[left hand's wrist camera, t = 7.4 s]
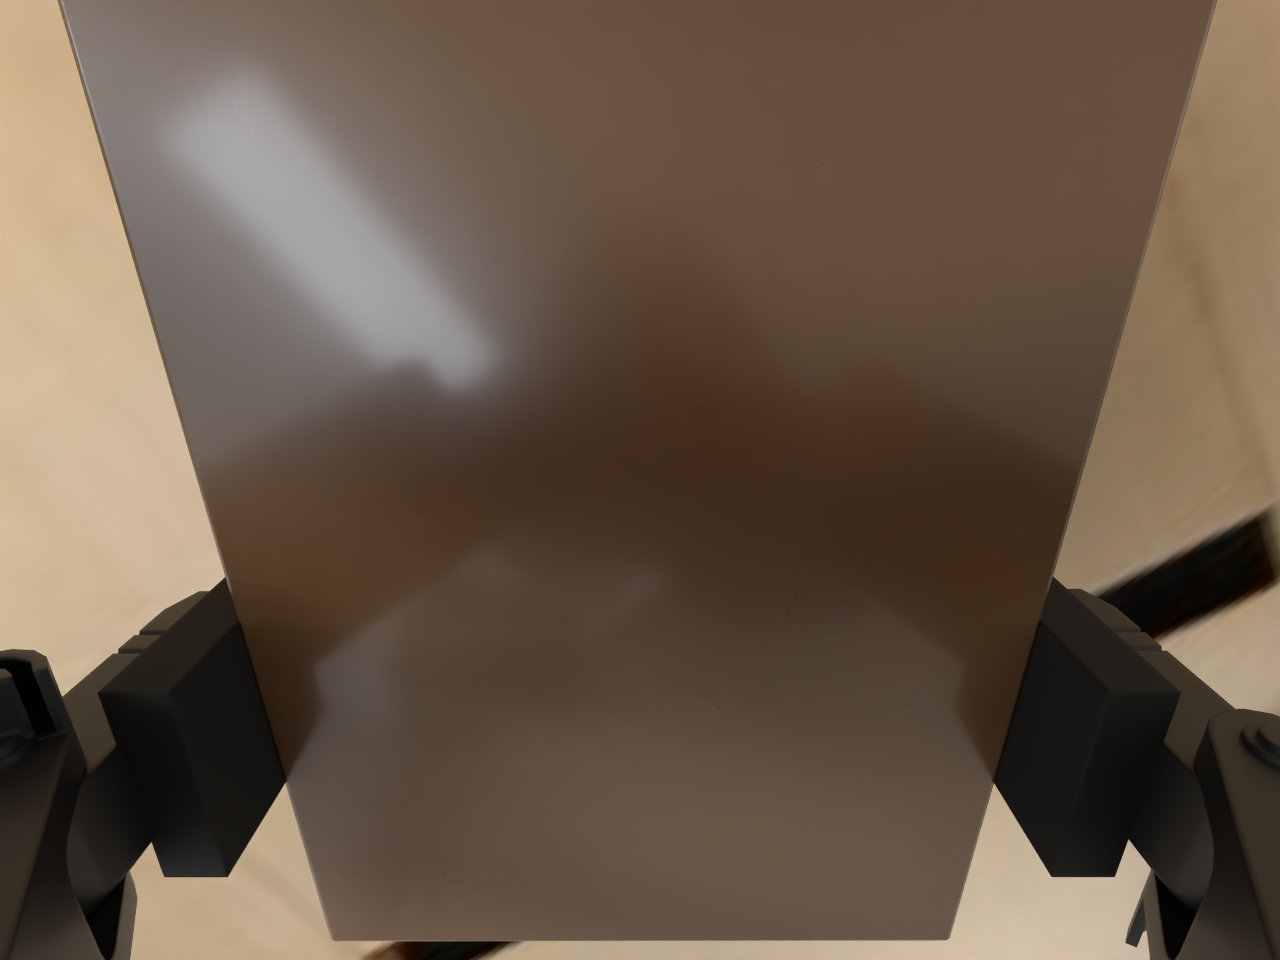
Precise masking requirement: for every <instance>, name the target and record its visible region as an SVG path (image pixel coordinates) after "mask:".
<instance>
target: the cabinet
mask: <svg viewBox="0 0 1280 960" xmlns="http://www.w3.org/2000/svg"><path fill="white" fill-rule="evenodd" d="M58 3H59V7H60V10H61V14H62V17H63V20H64V24H65V27H66V31H67V34H68V38H69V41H70V44H71V48H72V51H73V55H74V58H75V62H76V65H77V68H78V72H79V75H80V79H81V82H82V86H83V89H84V92H85V96H86V99H87V103H88V106H89V110H90V113H91V116H92V120H93V123H94V127H95V130H96V134H97V137H98V141H99V144H100V147H101V151H102V154H103V158H104V161H105V165H106V168H107V171H108V175H109V178H110V182H111V185H112V189H113V192H114V195H115V199H116V202H117V206H118V209H119V213H120V216H121V219H122V223H123V226H124V230H125V233H126V237H127V240H128V243H129V247H130V250H131V254H132V257H133V261H134V264H135V267H136V271H137V274H138V278H139V281H140V285H141V288H142V291H143V295H144V298H145V302H146V305H147V309H148V312H149V315H150V319H151V322H152V326H153V329H154V333H155V336H156V340H157V343H158V346H159V350H160V353H161V357H162V360H163V364H164V367H165V370H166V374H167V377H168V381H169V384H170V388H171V391H172V394H173V398H174V401H175V405H176V408H177V412H178V415H179V418H180V422H181V425H182V429H183V432H184V436H185V439H186V442H187V446H188V449H189V453H190V456H191V460H192V463H193V466H194V470H195V473H196V477H197V480H198V484H199V487H200V490H201V494H202V497H203V501H204V504H205V508H206V511H207V515H208V518H209V521H210V525H211V528H212V532H213V535H214V539H215V542H216V545H217V549H218V552H219V556H220V559H221V563H222V566H223V569H224V573H225V576H226V580H227V583H228V587H229V590H230V593H231V597H232V600H233V604H234V607H235V611H236V614H237V617H238V621H239V624H240V628H241V631H242V635H243V638H244V641H245V645H246V648H247V652H248V655H249V659H250V662H251V665H252V669H253V672H254V676H255V679H256V683H257V686H258V689H259V693H260V696H261V700H262V703H263V707H264V710H265V714H266V717H267V720H268V724H269V727H270V731H271V734H272V738H273V741H274V744H275V748H276V751H277V755H278V758H279V762H280V765H281V768H282V772H283V775H284V779H285V782H286V786H287V789H288V792H289V796H290V799H291V803H292V806H293V810H294V813H295V816H296V820H297V823H298V827H299V830H300V834H301V837H302V840H303V844H304V847H305V851H306V854H307V858H308V861H309V864H310V868H311V871H312V875H313V878H314V882H315V885H316V888H317V892H318V895H319V899H320V902H321V906H322V909H323V913H324V916H325V919H326V923H327V926H328V930H329V933H330V937H331V939H332V940H334V941H923V940H948V939H949V938H950V935H951V931H952V928H953V924H954V921H955V917H956V914H957V910H958V907H959V903H960V900H961V896H962V893H963V889H964V886H965V882H966V879H967V875H968V872H969V868H970V865H971V861H972V857H973V854H974V850H975V847H976V843H977V840H978V836H979V833H980V829H981V826H982V822H983V819H984V815H985V812H986V808H987V805H988V801H989V798H990V794H991V791H992V787H993V784H994V780H995V777H996V773H997V770H998V766H999V763H1000V759H1001V756H1002V752H1003V749H1004V745H1005V742H1006V738H1007V735H1008V731H1009V728H1010V724H1011V721H1012V717H1013V714H1014V710H1015V707H1016V703H1017V700H1018V696H1019V693H1020V689H1021V686H1022V682H1023V679H1024V675H1025V672H1026V668H1027V665H1028V661H1029V658H1030V654H1031V651H1032V647H1033V644H1034V640H1035V637H1036V633H1037V630H1038V626H1039V623H1040V619H1041V616H1042V612H1043V609H1044V605H1045V602H1046V598H1047V595H1048V591H1049V588H1050V584H1051V581H1052V577H1053V574H1054V570H1055V567H1056V563H1057V560H1058V556H1059V553H1060V549H1061V546H1062V542H1063V539H1064V535H1065V532H1066V528H1067V525H1068V521H1069V518H1070V514H1071V511H1072V507H1073V504H1074V500H1075V497H1076V493H1077V490H1078V486H1079V483H1080V479H1081V476H1082V472H1083V469H1084V465H1085V462H1086V458H1087V455H1088V451H1089V448H1090V444H1091V441H1092V437H1093V434H1094V430H1095V427H1096V423H1097V420H1098V416H1099V413H1100V409H1101V406H1102V402H1103V399H1104V395H1105V392H1106V388H1107V385H1108V381H1109V377H1110V374H1111V370H1112V367H1113V363H1114V360H1115V356H1116V353H1117V349H1118V346H1119V342H1120V339H1121V335H1122V332H1123V328H1124V325H1125V321H1126V318H1127V314H1128V311H1129V307H1130V304H1131V300H1132V297H1133V293H1134V290H1135V286H1136V283H1137V279H1138V276H1139V272H1140V269H1141V265H1142V262H1143V258H1144V255H1145V251H1146V248H1147V244H1148V241H1149V237H1150V234H1151V230H1152V227H1153V223H1154V220H1155V216H1156V213H1157V209H1158V206H1159V202H1160V199H1161V195H1162V192H1163V188H1164V185H1165V181H1166V178H1167V174H1168V171H1169V167H1170V164H1171V160H1172V157H1173V153H1174V150H1175V146H1176V143H1177V139H1178V136H1179V132H1180V129H1181V125H1182V122H1183V118H1184V115H1185V111H1186V108H1187V104H1188V101H1189V97H1190V94H1191V90H1192V87H1193V83H1194V80H1195V76H1196V73H1197V69H1198V66H1199V62H1200V59H1201V55H1202V52H1203V48H1204V45H1205V41H1206V38H1207V34H1208V31H1209V27H1210V24H1211V20H1212V17H1213V13H1214V10H1215V6H1216V3H1217V0H58Z"/></svg>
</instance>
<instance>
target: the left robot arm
mask: <svg viewBox="0 0 1280 960" xmlns="http://www.w3.org/2000/svg"><path fill="white" fill-rule="evenodd" d="M118 650H119V651H118V654H112V655H111V656H110V657H109V658H107V659H106V660H105V661H104V662H103V663H101V664H100V665H99V666H98V667H97V668H96V669H94V670H93V671H92V672H91V673H90V674H89V675H87V676H86V677H85V678H84V679H83V680H82V681H80V682H79V683H78V684H77V685H76V686H75V687H73V688H72V689H71V690H70V691H69V692H68V693H66V694H65V695H64V696H63V697H62V696H61V693H60V691H59V688H58V685H57V683H56V680H55V678H54V675H53V672H52V670H51V667H50V665H49V662H48V660H47V657H46V656H44V655H42V654H40V653H38V652H36V651H34V650H16V649H11V650H4V651H0V960H130V955H131V947H132V939H133V930H134V922H135V914H136V905H137V894H136V889H135V884H134V881H133V879H132V876H131V874H130V871H129V870H130V869H131V868H132V866H133V865H134V864H135V863H136V861H137V860H138V859H139V857H140V856H141V855H142V853H143V852H144V851H145V849H146V848H147V847H148V846H149V844H150V843H151V842H152V844H153V847H154V850H155V853H156V855H157V858H158V861H159V864H160V866H161V869H162V872H163V875H164V877H228V876H229V874H230V872H231V871H232V869H233V867H234V866H235V864H236V862H237V861H238V859H239V858H240V856H241V854H242V853H243V851H244V849H245V848H246V846H247V844H248V843H249V841H250V840H251V838H252V836H253V835H254V833H255V831H256V830H257V828H258V826H259V825H260V823H261V822H262V820H263V818H264V817H265V815H266V813H267V812H268V810H269V809H270V807H271V805H272V804H273V802H274V800H275V799H276V797H277V795H278V794H279V792H280V791H281V789H282V787H283V786H284V784H285V779H284V775H283V772H282V768H281V765H280V762H279V758H278V755H277V751H276V748H275V744H274V741H273V738H272V734H271V731H270V727H269V724H268V720H267V717H266V714H265V710H264V707H263V703H262V700H261V696H260V693H259V689H258V686H257V683H256V679H255V676H254V672H253V669H252V665H251V662H250V659H249V655H248V652H247V648H246V645H245V641H244V638H243V635H242V631H241V628H240V624H239V621H238V617H237V614H236V611H235V607H234V604H233V600H232V597H231V593H230V590H229V587H228V583H227V580H226V577H225V578H224V579H223V580H222V581H221V582H219V583H218V584H217V585H216V586H215V587H214V588H213V589H212V590H211V591H199V592H197V593H195V594H193V595H191V596H189V597H188V598H186V599H184V600H182V601H180V602H178V603H176V604H174V605H172V606H170V607H169V608H167V609H165V610H164V611H162V612H161V613H160V614H159V615H158V616H156V617H155V618H154V619H153V620H152V621H151V622H149V623H148V624H147V625H146V626H145V627H144V628H142V629H141V630H140V633H139V635H134V636H133V637H132V638H131V639H130V640H128V641H127V642H126V643H125V644H124V645H123V646H121V647H120V648H119V649H118ZM994 784H995V785H996V787H997V788H998V790H999V792H1000V793H1001V795H1002V797H1003V798H1004V800H1005V802H1006V803H1007V805H1008V806H1009V808H1010V810H1011V811H1012V813H1013V815H1014V816H1015V818H1016V820H1017V821H1018V823H1019V824H1020V826H1021V828H1022V829H1023V831H1024V833H1025V834H1026V836H1027V838H1028V839H1029V841H1030V842H1031V844H1032V846H1033V847H1034V849H1035V851H1036V852H1037V854H1038V856H1039V857H1040V859H1041V860H1042V862H1043V864H1044V865H1045V867H1046V869H1047V870H1048V872H1049V874H1050V875H1051V877H1115V875H1116V872H1117V869H1118V867H1119V864H1120V861H1121V858H1122V856H1123V853H1124V850H1125V847H1126V845H1127V842H1128V839H1129V840H1130V841H1131V843H1132V844H1133V845H1134V847H1135V848H1136V849H1137V851H1138V852H1139V853H1140V854H1141V856H1142V857H1143V858H1144V860H1145V861H1146V862H1147V864H1148V865H1149V866H1150V867H1151V871H1150V874H1149V876H1148V879H1147V881H1146V884H1145V886H1144V889H1143V892H1142V894H1141V897H1140V899H1139V902H1138V905H1137V907H1136V910H1135V912H1134V915H1133V917H1132V920H1131V923H1130V925H1129V928H1128V932H1127V937H1126V942H1125V943H1127V944H1130V945H1132V946H1134V947H1137V945H1138V943H1139V940H1140V938H1141V935H1142V933H1143V932H1144V931H1146V930H1147V936H1148V944H1149V952H1150V960H1280V717H1279V716H1276V715H1273V714H1270V713H1264V712H1259V711H1253V710H1247V709H1235V708H1234V707H1232V706H1231V705H1230V704H1229V703H1228V702H1227V701H1225V700H1224V699H1223V698H1222V697H1221V696H1219V695H1218V694H1217V693H1216V692H1215V691H1214V690H1212V689H1211V688H1210V687H1209V686H1208V685H1206V684H1205V683H1204V682H1203V681H1202V680H1201V679H1199V678H1198V677H1197V676H1196V675H1195V674H1194V673H1192V672H1191V671H1190V670H1189V669H1188V668H1186V667H1185V666H1184V665H1183V664H1182V663H1181V662H1179V661H1178V660H1177V659H1176V658H1175V657H1173V656H1172V655H1171V654H1170V653H1169V652H1168V651H1162V649H1161V645H1159V644H1158V643H1157V642H1156V641H1155V640H1153V639H1152V638H1151V637H1150V636H1149V635H1148V634H1146V633H1141V631H1140V628H1139V627H1138V626H1137V625H1136V624H1135V623H1133V622H1132V621H1131V620H1130V619H1129V618H1128V617H1126V616H1125V615H1124V614H1123V613H1122V612H1120V611H1119V610H1118V609H1117V608H1116V607H1114V606H1112V605H1110V604H1108V603H1106V602H1105V601H1103V600H1101V599H1099V598H1097V597H1095V596H1093V595H1091V594H1089V593H1087V592H1085V591H1084V590H1082V589H1066V588H1065V587H1064V586H1063V585H1062V584H1061V583H1060V582H1059V581H1058V580H1056V579H1055V578H1054V577H1052V581H1051V584H1050V588H1049V591H1048V595H1047V598H1046V602H1045V605H1044V609H1043V612H1042V616H1041V619H1040V623H1039V626H1038V630H1037V633H1036V637H1035V640H1034V644H1033V647H1032V651H1031V654H1030V658H1029V661H1028V665H1027V668H1026V672H1025V675H1024V679H1023V682H1022V686H1021V689H1020V693H1019V696H1018V700H1017V703H1016V707H1015V710H1014V714H1013V717H1012V721H1011V724H1010V728H1009V731H1008V735H1007V738H1006V742H1005V745H1004V749H1003V752H1002V756H1001V759H1000V763H999V766H998V770H997V773H996V777H995V780H994Z"/></svg>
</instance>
